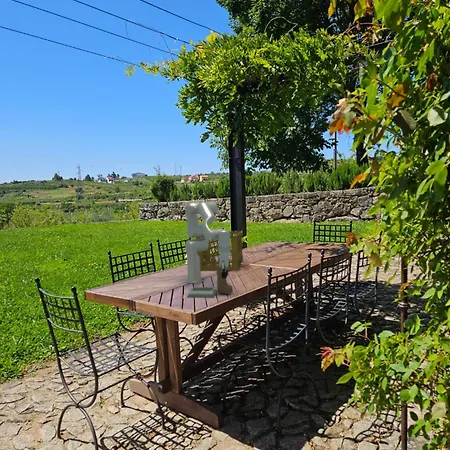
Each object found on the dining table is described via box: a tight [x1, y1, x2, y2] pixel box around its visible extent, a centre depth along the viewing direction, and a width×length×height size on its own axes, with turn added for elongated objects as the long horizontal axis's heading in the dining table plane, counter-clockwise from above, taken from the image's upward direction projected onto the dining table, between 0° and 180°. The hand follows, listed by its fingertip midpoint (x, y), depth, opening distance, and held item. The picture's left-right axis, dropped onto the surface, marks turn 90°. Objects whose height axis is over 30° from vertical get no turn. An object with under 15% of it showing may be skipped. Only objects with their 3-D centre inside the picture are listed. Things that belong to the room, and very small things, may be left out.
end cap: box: [186, 286, 218, 299], centre depth 256 cm, size 16×17×4 cm
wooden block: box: [216, 264, 233, 295], centre depth 254 cm, size 9×4×18 cm, turn 59°
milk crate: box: [195, 230, 244, 272], centre depth 347 cm, size 36×36×30 cm
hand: (224, 276), depth 254 cm, fingers closed on wooden block, 5 cm apart
